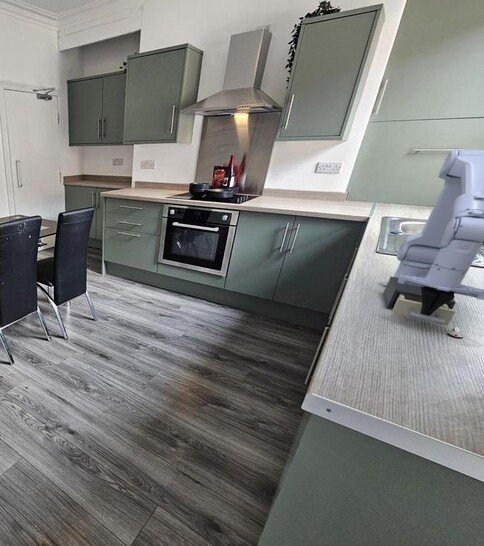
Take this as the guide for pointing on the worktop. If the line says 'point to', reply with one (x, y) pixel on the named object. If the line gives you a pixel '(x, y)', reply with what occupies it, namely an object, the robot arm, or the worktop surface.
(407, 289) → the drawer box
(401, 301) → the cream drawer
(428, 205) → the worktop surface
